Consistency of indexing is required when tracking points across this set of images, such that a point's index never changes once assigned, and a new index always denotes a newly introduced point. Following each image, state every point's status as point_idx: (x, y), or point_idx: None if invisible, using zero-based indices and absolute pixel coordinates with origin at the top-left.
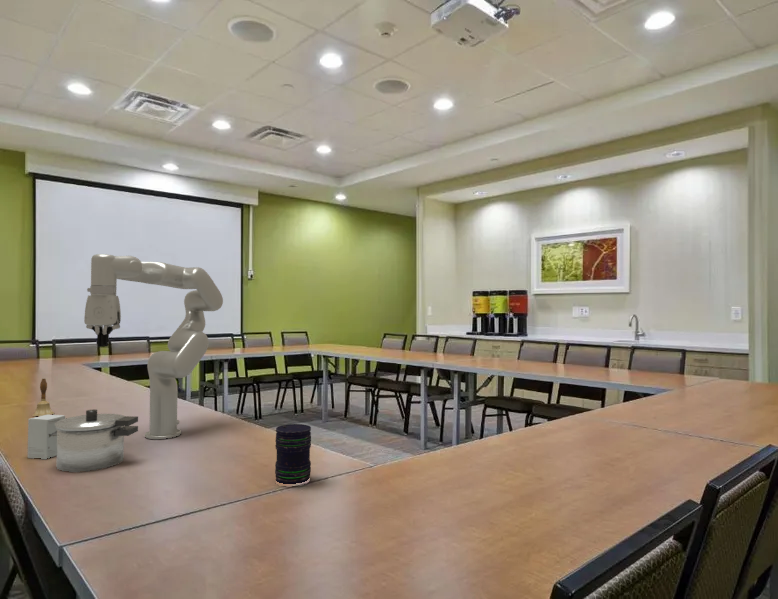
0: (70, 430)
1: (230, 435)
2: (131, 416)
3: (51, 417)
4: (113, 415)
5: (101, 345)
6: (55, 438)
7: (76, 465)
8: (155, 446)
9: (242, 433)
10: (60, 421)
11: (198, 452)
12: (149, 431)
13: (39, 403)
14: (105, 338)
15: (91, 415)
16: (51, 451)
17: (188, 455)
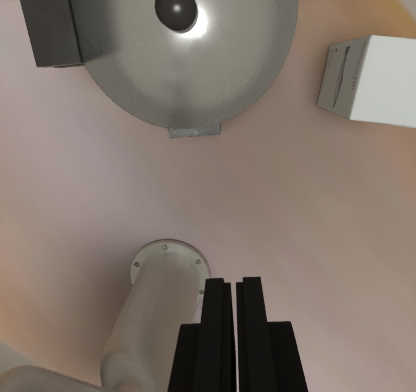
0: None
1: (25, 285)
2: (58, 63)
3: (377, 72)
4: (155, 102)
5: (217, 281)
6: (336, 73)
7: None
8: (131, 187)
9: (11, 301)
10: None
11: (4, 150)
12: (193, 267)
13: None
14: (181, 374)
15: None
16: (330, 61)
17: (9, 124)
